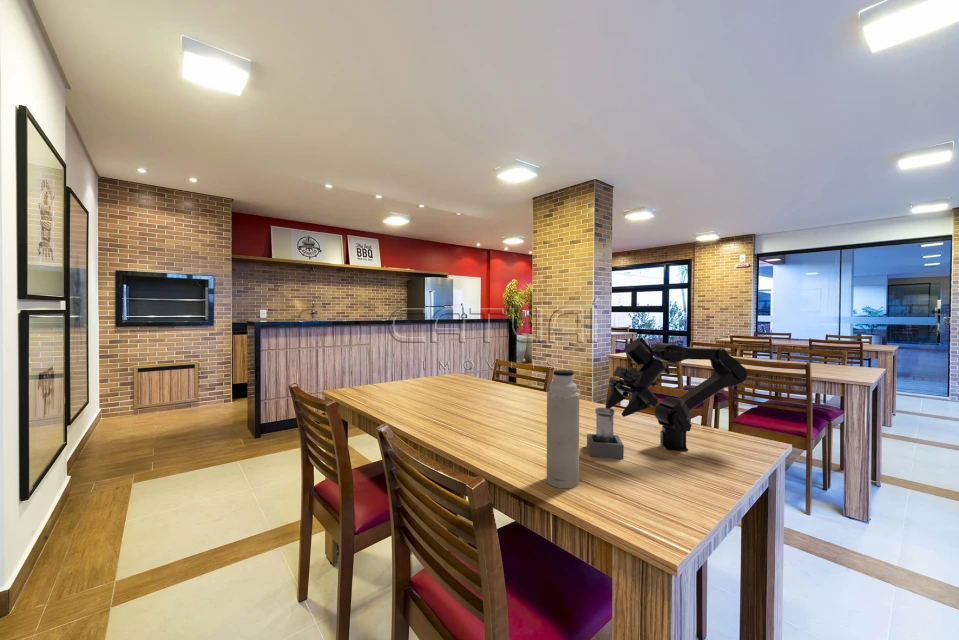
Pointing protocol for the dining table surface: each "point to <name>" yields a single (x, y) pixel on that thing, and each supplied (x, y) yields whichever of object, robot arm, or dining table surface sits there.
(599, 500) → the dining table surface
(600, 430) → the pipe
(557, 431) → the thermos bottle
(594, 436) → the gray square tray
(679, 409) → the robot arm
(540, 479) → the dining table surface
